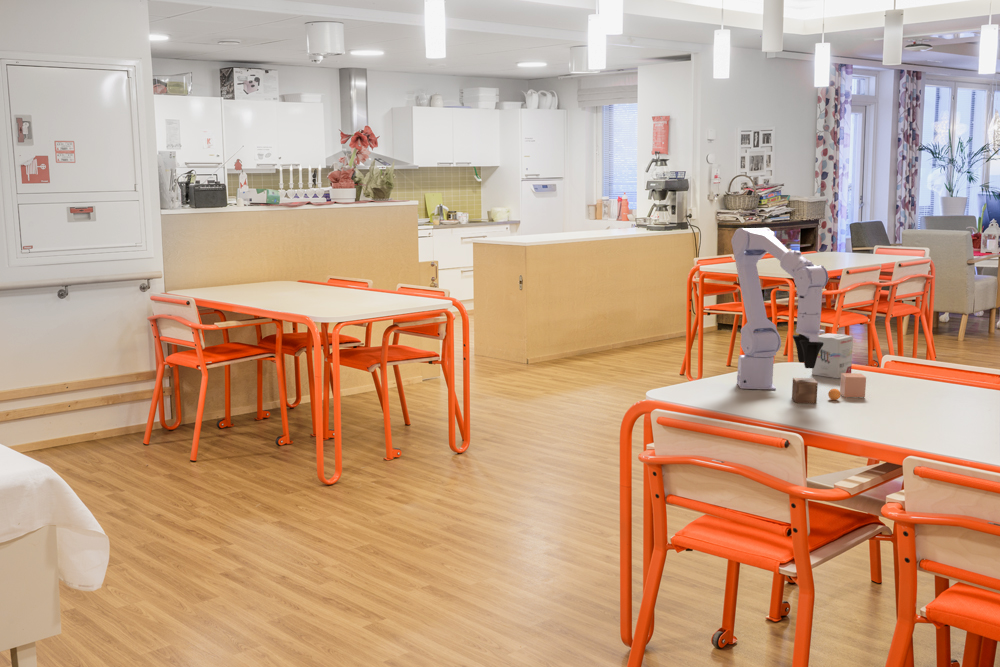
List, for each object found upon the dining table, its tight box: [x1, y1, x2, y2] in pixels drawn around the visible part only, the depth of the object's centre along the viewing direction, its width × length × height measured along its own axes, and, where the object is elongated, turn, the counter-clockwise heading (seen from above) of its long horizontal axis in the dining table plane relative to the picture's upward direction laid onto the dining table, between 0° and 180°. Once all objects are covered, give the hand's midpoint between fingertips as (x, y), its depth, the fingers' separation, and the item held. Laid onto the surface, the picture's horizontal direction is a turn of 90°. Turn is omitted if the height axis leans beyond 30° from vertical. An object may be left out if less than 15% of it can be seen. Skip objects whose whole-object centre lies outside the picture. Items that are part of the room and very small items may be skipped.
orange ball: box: [827, 388, 841, 401], centre depth 245 cm, size 3×3×3 cm
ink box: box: [811, 332, 854, 379], centre depth 276 cm, size 9×9×12 cm
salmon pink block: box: [839, 372, 867, 398], centre depth 250 cm, size 5×5×6 cm
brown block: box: [791, 377, 819, 404], centre depth 243 cm, size 5×5×6 cm
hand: (806, 365), depth 242 cm, fingers open, 7 cm apart
